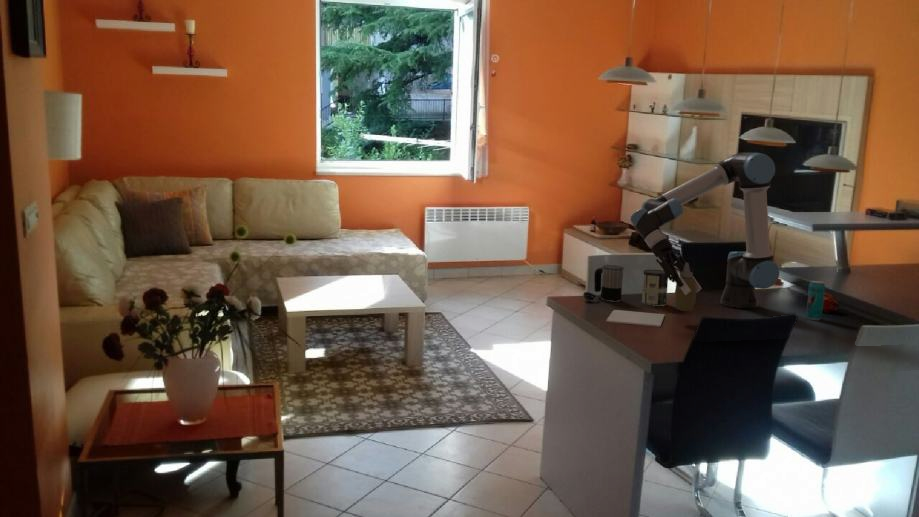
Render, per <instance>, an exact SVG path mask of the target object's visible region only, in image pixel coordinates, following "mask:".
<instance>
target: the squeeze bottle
mask: <svg viewBox="0 0 919 517" xmlns="http://www.w3.org/2000/svg"><path fill="white" fill-rule="evenodd" d="M689 266H690V265H689V262H687V263H685V265H684V269H683V271H682V272H680V271H679V278H680V277H682V279H683V280H684V281H685V283H686V284H687V285H688V287H689V288H690V290H691V292H689V293H688V294H687V295H685V294H684V293H683V291H682V290H681V288H680V287H679V286H678V284H677V283H676V282H675V290H674V294H673V301H674V305H675V309H676V310H678V311H681V312H682V311H683V312H689V311H690V312H691V311H693V309H694V307H695V304H696V302H697V293H696V292H695V280H696V278H695V277H694V275H693V273H692V272H690V269H689ZM692 277H694V278H695V279H694V278H692Z"/></svg>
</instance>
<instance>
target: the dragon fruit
mask: <svg viewBox="0 0 919 517" xmlns="http://www.w3.org/2000/svg"><path fill="white" fill-rule="evenodd" d="M839 306H840V303H839V301H838V300H837V298H836V297H835V296H833V295H832V294H831V293H829V292H825V291H824V302H823V312H824V313H832V312H831V311H836V310H838V308H839Z"/></svg>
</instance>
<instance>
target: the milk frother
mask: <svg viewBox="0 0 919 517" xmlns="http://www.w3.org/2000/svg"><path fill="white" fill-rule="evenodd" d="M624 268H625V267H624V266H622V265H615V264H614V265H613V264H605V265H602V266H601V267H599V268H597V269H596V270H595V271H594V291H595V293H600V296H601V297H602V298H603V299H605V300H613V301H617V300H622V290H623V288H622V287H623V278H624V276H623V275H624ZM582 296H583V298H584V299H585V300H587V301H589V300H596V299H595V298H594V297H596V296H597V295H595V294H594V293H592V292H587V291H585V292H583V293H582ZM592 296H593V297H592ZM601 297H600V298H601Z"/></svg>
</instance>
